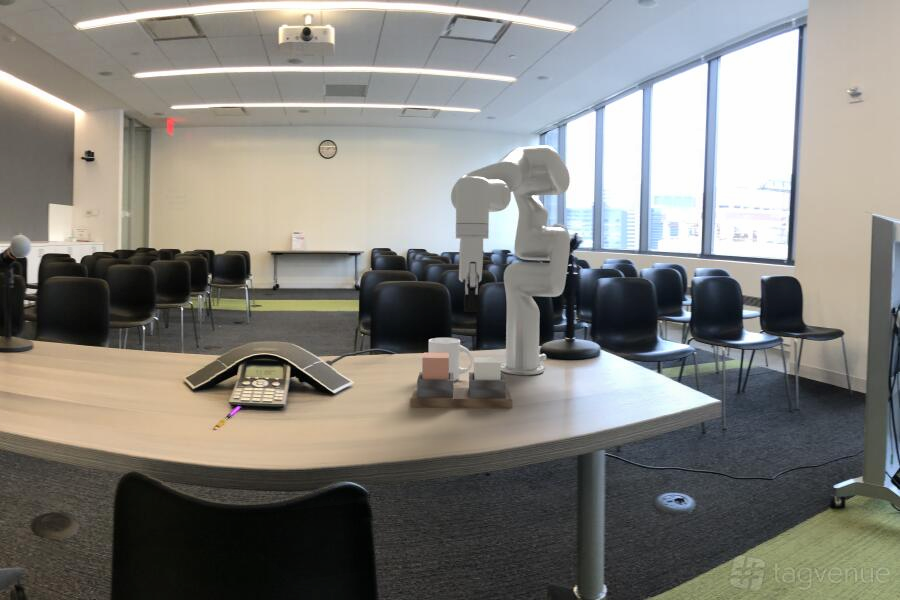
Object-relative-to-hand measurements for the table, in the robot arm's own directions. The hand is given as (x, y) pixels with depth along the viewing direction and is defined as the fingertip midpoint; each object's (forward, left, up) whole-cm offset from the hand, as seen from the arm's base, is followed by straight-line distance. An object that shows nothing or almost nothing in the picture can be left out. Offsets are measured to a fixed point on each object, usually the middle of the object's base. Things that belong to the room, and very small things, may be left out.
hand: (471, 311), depth 132 cm
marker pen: (+44, -28, -22) cm, 57 cm away
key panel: (+1, -2, -21) cm, 21 cm away
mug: (-13, -19, -22) cm, 31 cm away
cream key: (-3, +3, -17) cm, 18 cm away
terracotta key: (+5, -6, -16) cm, 18 cm away
